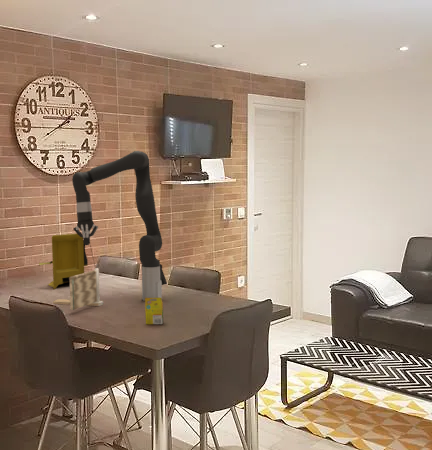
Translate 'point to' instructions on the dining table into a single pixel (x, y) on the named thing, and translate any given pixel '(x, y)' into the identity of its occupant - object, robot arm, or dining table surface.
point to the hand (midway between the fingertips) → (87, 245)
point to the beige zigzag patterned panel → (82, 289)
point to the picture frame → (98, 303)
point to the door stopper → (162, 276)
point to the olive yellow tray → (67, 258)
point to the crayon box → (154, 311)
